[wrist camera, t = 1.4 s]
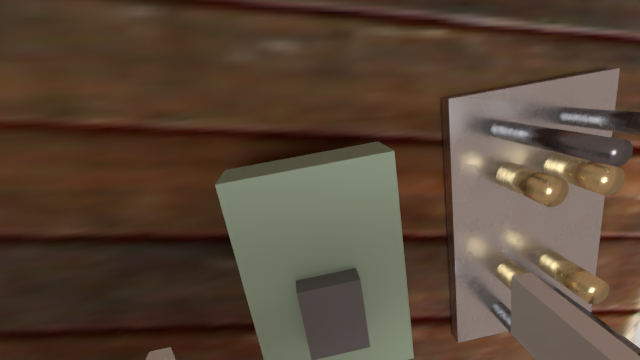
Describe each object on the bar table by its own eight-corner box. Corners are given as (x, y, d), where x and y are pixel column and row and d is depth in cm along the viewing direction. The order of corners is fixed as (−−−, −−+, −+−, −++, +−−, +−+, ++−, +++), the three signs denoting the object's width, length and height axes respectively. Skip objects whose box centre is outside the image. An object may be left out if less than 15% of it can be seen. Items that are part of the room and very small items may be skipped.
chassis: (451, 333, 27) (529, 447, 19) (441, 98, 21) (548, 106, 13) (580, 304, 28) (711, 399, 20) (605, 68, 22) (809, 58, 14)
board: (273, 354, 20) (272, 409, 16) (224, 170, 16) (210, 192, 13) (398, 325, 20) (421, 373, 17) (378, 141, 16) (402, 155, 13)
